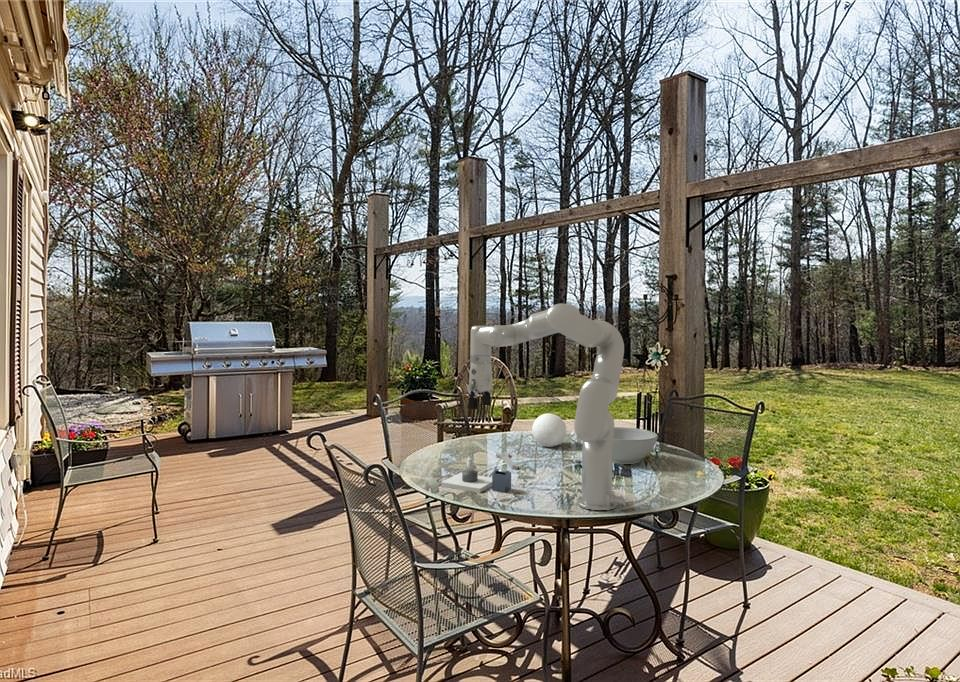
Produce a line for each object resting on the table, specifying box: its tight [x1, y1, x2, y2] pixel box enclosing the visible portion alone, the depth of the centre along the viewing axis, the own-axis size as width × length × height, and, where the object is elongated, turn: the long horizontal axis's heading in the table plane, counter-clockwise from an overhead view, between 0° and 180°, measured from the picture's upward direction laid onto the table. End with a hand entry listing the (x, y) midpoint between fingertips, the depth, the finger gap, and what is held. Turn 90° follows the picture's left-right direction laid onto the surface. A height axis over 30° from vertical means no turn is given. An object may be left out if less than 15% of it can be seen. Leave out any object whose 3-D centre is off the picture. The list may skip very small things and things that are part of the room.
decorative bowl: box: [612, 426, 659, 465], centre depth 233 cm, size 27×27×12 cm
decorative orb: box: [531, 412, 567, 448], centre depth 260 cm, size 20×18×16 cm
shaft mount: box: [440, 457, 492, 494], centre depth 199 cm, size 16×14×10 cm
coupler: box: [491, 468, 512, 494], centre depth 192 cm, size 5×5×7 cm
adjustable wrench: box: [495, 451, 519, 471], centre depth 231 cm, size 25×6×2 cm, turn 6°
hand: (479, 407), depth 197 cm, fingers open, 9 cm apart
